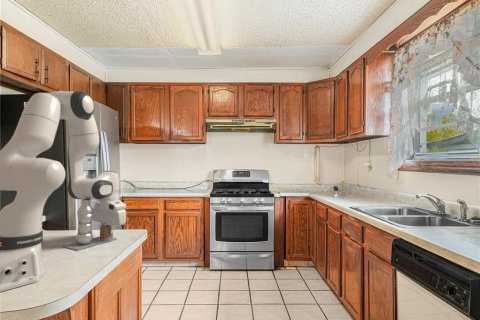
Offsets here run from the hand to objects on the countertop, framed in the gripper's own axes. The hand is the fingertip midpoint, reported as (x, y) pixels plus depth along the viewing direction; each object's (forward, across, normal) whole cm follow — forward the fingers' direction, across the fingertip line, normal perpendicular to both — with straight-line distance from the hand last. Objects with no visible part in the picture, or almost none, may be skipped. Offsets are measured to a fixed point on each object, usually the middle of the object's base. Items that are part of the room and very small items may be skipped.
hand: (108, 232), depth 137 cm
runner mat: (+3, 0, -9) cm, 9 cm away
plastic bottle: (+3, 0, -12) cm, 13 cm away
